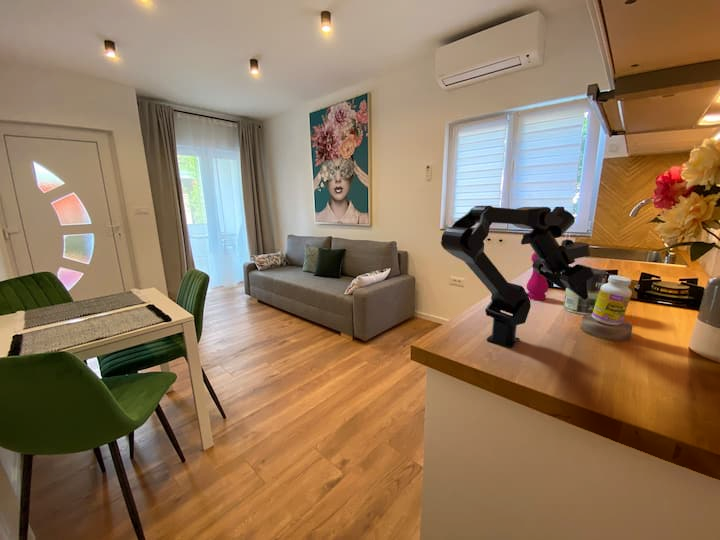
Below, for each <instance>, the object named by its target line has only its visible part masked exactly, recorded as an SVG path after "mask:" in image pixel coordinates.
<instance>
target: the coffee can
mask: <svg viewBox="0 0 720 540" xmlns="http://www.w3.org/2000/svg"><path fill="white" fill-rule="evenodd" d="M591 268H592V267H591ZM592 270H593V271H594V273H595V275H594V276H593V277H591V278H590V279H588V280H587V292H588V298H587V299H586V300H584V299H582V298H581V297H579V296H578V295H577V294H575V293H574V292H572V291H571V290H570V289H568V288H566V289H565V293H564V302H563V305H562V307H563V309H564V310H566V311H567V312H570V313H573V314H577V315H583V316H586V315H592V313H593V309H594V306H595V303H596V300H597V297H598V294H599V291H600V288H601V286H602V285H603V284H606V283H605V281H606V276H607V273H608V272H607V271H605V270H603V269H600V268H594V267H593V268H592Z"/></svg>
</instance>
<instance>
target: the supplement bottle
mask: <svg viewBox="0 0 720 540" xmlns="http://www.w3.org/2000/svg"><path fill="white" fill-rule="evenodd" d="M631 284H632V279H631V278H629V277H627V276H626V277H625V276H622V275H615V274H614V275H613V274H610V275H609V276H608V279H607V283H604V284H603V285H602V286H601V288H600V291H599V294H598V297H597V300H596V303H595V306H594V309H593V313H592V317H593V318H594V319H595V320H597V321H599V322H601V323H604V324H608V325H619V324H621V322H622V320H623V321H624V317H625V314H626V312H627V308H628V306H629V302H630V300H631V297H632V295H633V292H632V290H631V289H630V288H629V286H630V285H631Z"/></svg>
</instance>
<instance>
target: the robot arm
mask: <svg viewBox="0 0 720 540" xmlns="http://www.w3.org/2000/svg"><path fill="white" fill-rule="evenodd" d="M575 218H576V217H575V216H574V215H573V214H572V213H571V212H570V211H568V210H565V206H555V207H554V208H553V210H552V208H551V207H549V206H524V207H523V206H522V207H517V208H508V207H494V206H492V205H476V206H473V207H471V208H470V209H469V211H468V212H467V213H466V214H464V215H463V216H461V217H459V218H458V219H456V220H455V221H453V222H452V224H451V225H450V226H449V227H447V228H446V229H445V230H444V231H443V233H442V235H441V240H440V245H441V246H442V248H443V250H445V251H446V252H447V253H448V254H450V255H451V256H452V257H453V256H454V257H455V258H457V259H458V260H459V259H460V260H461V261H463V262H464V263H465V264H466V265H467V266H468V268H469V269H470V270H471V271H472V272H473V274H474V275H475V276H476V277H477V278H478V279H479V280H480V282H481V283H482V284H483V285H484V286H485V287H486V289H487V290H488V291H489V292H490V293H491V296H490V299H491V301H490V302H489V303H488V305H487V306H486V308H485V309H484V310H485V315H486V316H487V317H489V318H492V319H493V320H492V330H491V335H489V336H488V337H487V338H486V341H487V342H490V343H494V344H497V345H500V346H504V347H506V348H510V349H511V348H513V347H515V346H516V344H517V343H519V342H520V340H521V338H519V337H516V335H517V326H519V325H524V324H525V323H526V321H527V319H528V316H529V313H530V309H531V306H532V304H531V299H529V297H528V296H529V294H527V293H528V292H527V291H526V290H525V288H524V287H523V286H522V285H520V284H517V283H516V284H515V283H512V282H508V281H507V280H506V278H505V277H504V275H502V273H501V272H500V271H499V270H498V268H497V267H496V265H495V264H494V263H493V262H492V260H491V259H490V258H489V257H488V255H486V252H485V242H484V241H485V240H486V239H487V238H488V236H489V233H490V226H491V225H492V224H510V225H512V226H514V227H516V228H520V229H526V230H531V231H529V232H528V233H523V234H522V238H521V242H520V244H521V245H522V246H523V245H530V247H531V248H532V250H533V251H534V253H536V255H534V256H535V258H536V259H538V260H537V261H535V262H533V261H532V264H533V265H532V264H531V267H532V270H533V269H534V270H535V271H536V272H538V273H539V274H540V275H542V276H543V277H545V278H546V280H548V281H549V282H551V283H552V284H554V285H556V286H557V287H558V288H560V289H562V291H563V290H566V288H568V289H570V290H571V291H572V292H574V293H575V294H577V295H578V296H579V297H581V298H582V299H584V300H586V299H587V298H588V292H587V280H588V279H590V278H591V277H593V276H594V275H595V273H594V271H593V270H592V267H591V266H587V265H584V264H580V263H576V264H575V265H573V264H574V263H575V262H576V259H577V260H578V259H580V258H584V257H585V258H588V257H590V256H591V250H590V244H589V243H587V242H581V241H579V242H578V241H573V240H572V239H569V238H568V239H563V240H562V241H561V244H559V242H558V240H557V239H558V238H560V237H561V236H562V235H564V234H565V233H566V232H567V231H568V230H569V229H570V228H571V227H572V226H573V225H575V224H574V223H575V221H576V220H575ZM476 224H478V225H477V226H476ZM474 226H476V227H475V228H473V227H474ZM571 265H573V266H571Z"/></svg>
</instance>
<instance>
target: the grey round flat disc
mask: <svg viewBox="0 0 720 540" xmlns="http://www.w3.org/2000/svg"><path fill="white" fill-rule="evenodd" d="M580 330H581V331H582V332H583V333H584V334H587V335H588V336H591V337H594V338H596V339H600V340H601V339H602V340H605V341H612V342H613V341H614V342H627V341H630V339H631V337H632V332H633V325H632V324H631V323H629V322H627V321H625V320H624V319H623V320H622V322H621V324H619V325H608V324H604V323H601V322H599V321H597V320H595V319H594V318H593V317H592V315H583V316H582V318H581V323H580Z"/></svg>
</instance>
